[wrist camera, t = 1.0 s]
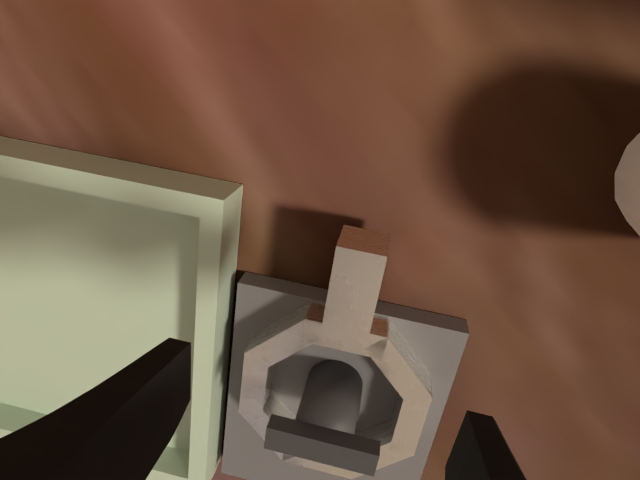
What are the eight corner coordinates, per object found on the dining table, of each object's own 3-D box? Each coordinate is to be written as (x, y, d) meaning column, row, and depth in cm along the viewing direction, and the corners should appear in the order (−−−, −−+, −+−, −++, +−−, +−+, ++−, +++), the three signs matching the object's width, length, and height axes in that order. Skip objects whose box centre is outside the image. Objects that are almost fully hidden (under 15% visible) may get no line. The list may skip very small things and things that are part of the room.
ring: (402, 466, 24) (402, 506, 22) (244, 426, 25) (228, 461, 23) (469, 250, 19) (478, 275, 17) (267, 209, 20) (251, 228, 18)
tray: (220, 460, 28) (204, 495, 26) (-53, 388, 30) (-90, 415, 28) (243, 184, 21) (223, 200, 19) (-117, 112, 23) (-174, 119, 21)
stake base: (405, 502, 27) (405, 607, 22) (228, 456, 28) (189, 545, 23) (465, 319, 22) (484, 401, 17) (245, 271, 23) (199, 334, 18)
